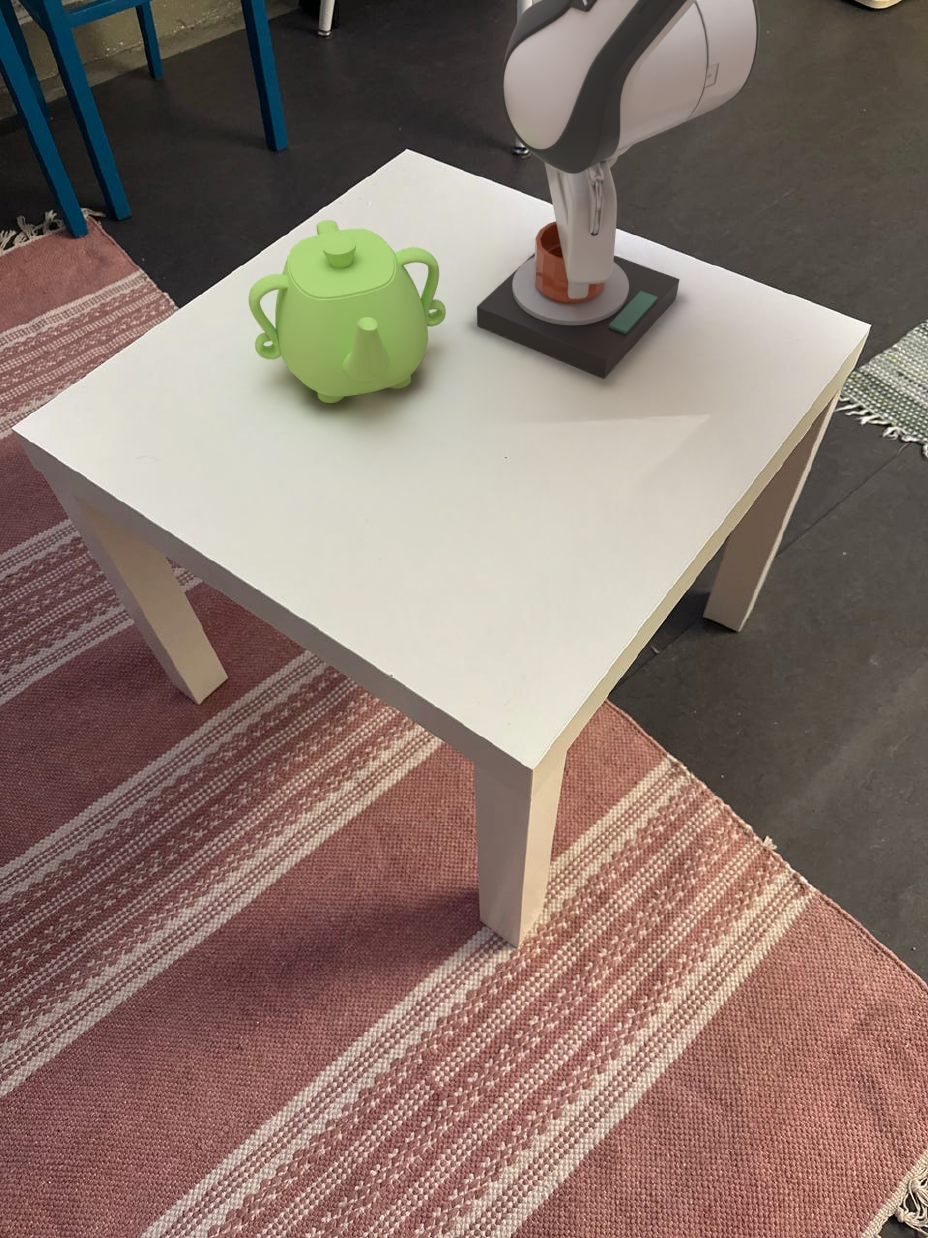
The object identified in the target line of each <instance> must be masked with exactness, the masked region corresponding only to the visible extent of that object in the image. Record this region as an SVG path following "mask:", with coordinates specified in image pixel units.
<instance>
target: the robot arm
mask: <svg viewBox="0 0 928 1238" xmlns="http://www.w3.org/2000/svg"><path fill="white" fill-rule="evenodd" d="M760 38H761V17H760V9H759V4H758V0H531V5H530V6H529V7H527V8H526V9H525V10H524V11H523V12H522V14H521V15H520V16H519V18H518V20H517V22H516V24H515V26H514V29H513V31H512V34H511V36H510V38H509V40H508V45H507V48H506V51H505V55H504V60H503V64H502V71H501V78H500V80H501V81H500V93H501V101H502V106H503V107H502V108H503V110H504V114H505V117H506V120H507V123H508V125H509V127H510V130H511V132H512V133H513V135H514V136H515V137H516V139H517V140H518V141H519V142H520V144H521V145H522V146H523V147H524V148H526V150H528V151H529V152H530V153H531V154H532V155H534V156H535V157H536V158H538V159H539V160H540V161H542V162H543V163H544V168H545V172H546V175H547V176H546V177H547V182H548V183H547V184H548V187H549V193H550V197H551V202H552V207H553V212H554V213H553V214H554V218H555V221H556V223H557V228H558V233H559V238H560V243H561V249H562V254H563V259H564V264H565V269H566V274H567V284H566V286H567V292H568V296H569V298H571V299H581V298H585V297H586V296H587V295H588V289H589V284H599V283H605V282H607V281H608V280H609V278H610V276H611V274H612V269H613V259H614V255H615V249H616V248H615V246H616V236H617V235H616V233H617V218H618V200H617V199H618V198H617V190H616V186H615V182H614V178H613V175H612V170H611V167H613V166H614V165H615V164H616V162H617V161H618V157H619V156H621V155H623V154H625V153H626V152H627V151H628V150H630V148H631V147H632V146H634V145H636V144H638V143H640V142H643V141H646V140H648V139H650V138H652V137H654V136H657V135H660V134H662V133H665V132H667V131H669V130H671V129H673V128H676V127H678V126H680V125H682V124H683V123H686V122H688V121H691V120H693V119H695V118H698V117H700V116H702V115H704V114H707V113H709V112H711V111H714V110H715V109H717V108H719V107H721V106H722V105H724V104H725V103H728V102H730V101H732V100H733V99H734V98H736V97H737V96H738V95H739V94H740V92H742V89H744V88H745V86H746V84H747V82H748V81H749V78H750V76H751V74H752V72H753V69H754V67H755V63H756V60H757V56H758V52H759V47H760Z"/></svg>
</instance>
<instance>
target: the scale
mask: <svg viewBox="0 0 928 1238" xmlns="http://www.w3.org/2000/svg"><path fill="white" fill-rule="evenodd" d="M534 265H535V252H534V253H533V254H531V255H530V256H529V257H528V258H527V259H526V260H525V261H524V262H522V264H520V265H519V267H518V268H516V269H515V271H513V272H511V274H510V275H509V276H507V277H506V279H505V280H503V282H502V283H500V284H499V285H498V286H497V287H496V288H495V289H494V290H493V291H492V292H491V293H490V294H488V295H487V297H485V298H484V299H483V300H482V301H481V302H480V303H479V304H478V305H477V306H476V326H477V327H479V328H482V329H484V330H486V331H489V332H491V333H494V334H496V335H499V336H500V337H503V338H506V339H508V340H510V341H513V342H515V343H517V344H520V345H522V346H525V347H527V348H529V349H531V350H534V351H536V352H539V353H540V354H544V355H546V356H548V357H550V358H553V359H555V360H558V361H560V362H563V363H565V364H566V365H567V364H568V365H570V366H572V367H574V368H576V369H579V370H582V371H584V372H587V373H588V374H590V375H593V376H596V377H598V378H601V379H603V380H605V379H606V378H607V377H608V376H609V374H611V372H612V371H613V370H614V369H615V368H616V367H617V365H618V364H619V363H620V362H621V361H622V360H623V359H624V358H625V356H626V355H627V354H628V353H629V352H630V351H631V350H632V349H633V347H635V345H636V344H637V343H638V342H639V341H640V339H642V338H643V337H644V335H645V334H646V333H647V332H648V331H649V330H650V328H651V327H652V326H653V325H654V324H655V323H656V322H657V320H658V319H660V317H661V316H662V315H663V314H664V313H665V311H666V310H668V308H669V307H670V306H671V305H672V304H673V303H674V302H675V301H676V299H677V296H678V290H679V285H680V278H677V277H674V276H672V275H669V274H666V273H664V272H662V271H658V270H656V269H653V268H651V267H648V266H645V265H642V264H640V263H637V262H633V261H631V260H628V259H626V258H623V257H620V256H617V255H615V254H614V259H613V269H612V274H611V276H610V278H609V280H608V281H607V282H606V284H605V286H604V289H603V290H602V291H601V292H599V293H598V294H597V295H596V296H594V297H592V298H591V299H589V300H586V301H583V302H578V303H563V302H558V301H555V300H552V299H550V298H548V297H547V296H546V295H544V294H543V293H541V291H540V290H539V289H538V288H537V287H536V285H535V280H534Z"/></svg>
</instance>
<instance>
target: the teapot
mask: <svg viewBox="0 0 928 1238" xmlns="http://www.w3.org/2000/svg"><path fill="white" fill-rule="evenodd" d="M415 263H419V264H424V265H426V266H427V270H428V271H427V277H426V281H425V284H424V288H423V290H422V294H421V296H420V293H419V291H418V289H417V287H416V284H415V282H414V281H413V278H412V277H411V275H410V273H409V271H408V270H407V268H406V267H405V266H406V265H408V264H415ZM439 280H440V267H439V262H438V261H437V259H436V257H435V256H434V255H433V254H432V253H431V252H430V251H428V250H426V249H423V248H420V247H415V246H414V247H406V248H403V249H400V250H398V251H396V252H395V251H394V250H393V248H392V247H391V246H390V244H389V243H388V242H387V241H386V240H385V239H384V238H383V237H382V236H381V235H379V234H378V233H376V232H374V231H372V230H369V229H365V228H348V229H341V230H340V229H339V226H338V223H337V222H336V221H335V220H333V219H325V220H322V221H319V222H318V223H317V224H316V235H312V236H309V237H306V238H304V239H302V240H300V241H298V242H297V243H295V245H293V246H292V248H291V249H290V251H289V253H288V255H287V258H286V261H285V263H284V266H283V270H282V273H274V274H268V275H265V276H263V277H261V278H260V279H259V280H257V281H256V282H255V283H254V284H253V285H252V286H251V288H250V291H249V293H248V306H249V309H250V312H251V314H252V316H253V318H254V319H255V321H256V323H257V324H258V325H259V327H260V328H261V330H262V331H263V332H262V333H259V334H258V335H257V336H256V338H255V340H254V348H255V351H256V353H257V354H258V356H259V357H261V358H262V359H265V360H278V359H279V358H280V357H281V358H282V359H283V361H284V363H285V365H286V367H288V369H289V370H290V372H291V373H292V374H293V375H294V376H295V377H296V378H297V379H298V380H299V381H300V382H302V384H304V385H305V386H307V387H308V388H309V389H311V390H313V391H315V392H316V393H317V395H316V396H317V397H318V400H320V401H321V402H322V403H327V404H334V403H338V402H340V401H341V400H343V399H344V397H351V396H356V395H363V394H369V393H373V392H378V391H381V390H384V389H387V388H390V389H394V390H396V389H397V390H398V389H403V388H405V387H408V385H410V383H411V381H412V375H413V373H414V372H415V371H416V370H417V369H418V367H419V366H420V364H421V363H422V361H423V359H424V358H425V355H426V351H427V348H428V342H429V330H428V327H431V328H432V327H436V326H438V325H440V324H442V322H444V320H445V319H446V314H447V310H446V309H447V308H446V306H445V304H444V302H442V300H440V299H437V298H436V299H435V295H436V292H437V289H438V285H439ZM273 291H277V294H276V301H275V308H274V312H275V313H274V322H275V326H274V325H273V323H272V322H271V321H270V319H269V318H268V317H267V315H266V313H265V312H264V311H263V308H262V306H261V300H262V298H263V297H265V295H267V294H269V293H270V292H273ZM433 310H435V311H433ZM430 311H433V312H430ZM268 342H271V343H272V344H270V345H264V344H266V343H268Z"/></svg>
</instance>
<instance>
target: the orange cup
mask: <svg viewBox="0 0 928 1238" xmlns="http://www.w3.org/2000/svg"><path fill="white" fill-rule="evenodd" d="M534 253H535V265H534V280H535V285H536V287H537V288H538V289H539V290H540V291H541V293H543V294H544V295H546V296H547V297H548V298H550V299H552V300H555V301H558V302H563V303H578V302H583V301H586V300H589V299H591V298H592V297H594V296H596V295H597V294H598V293H599V292H601V291H602V290H603V289H604V286H605V284H606V282H605V283H599V284H589V289H588V295H587V296H586V297H585V298H581V299H571V298H569V296H568V292H567V286H566V284H567V274H566V269H565V264H564V259H563V254H562V249H561V243H560V238H559V233H558V228H557V223H556V220H555V221H552V222H549V223H547V224H546V225H545V226H543V227H542V228H540V229H539V230H538V232H537V235H536V236H535V241H534Z"/></svg>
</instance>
